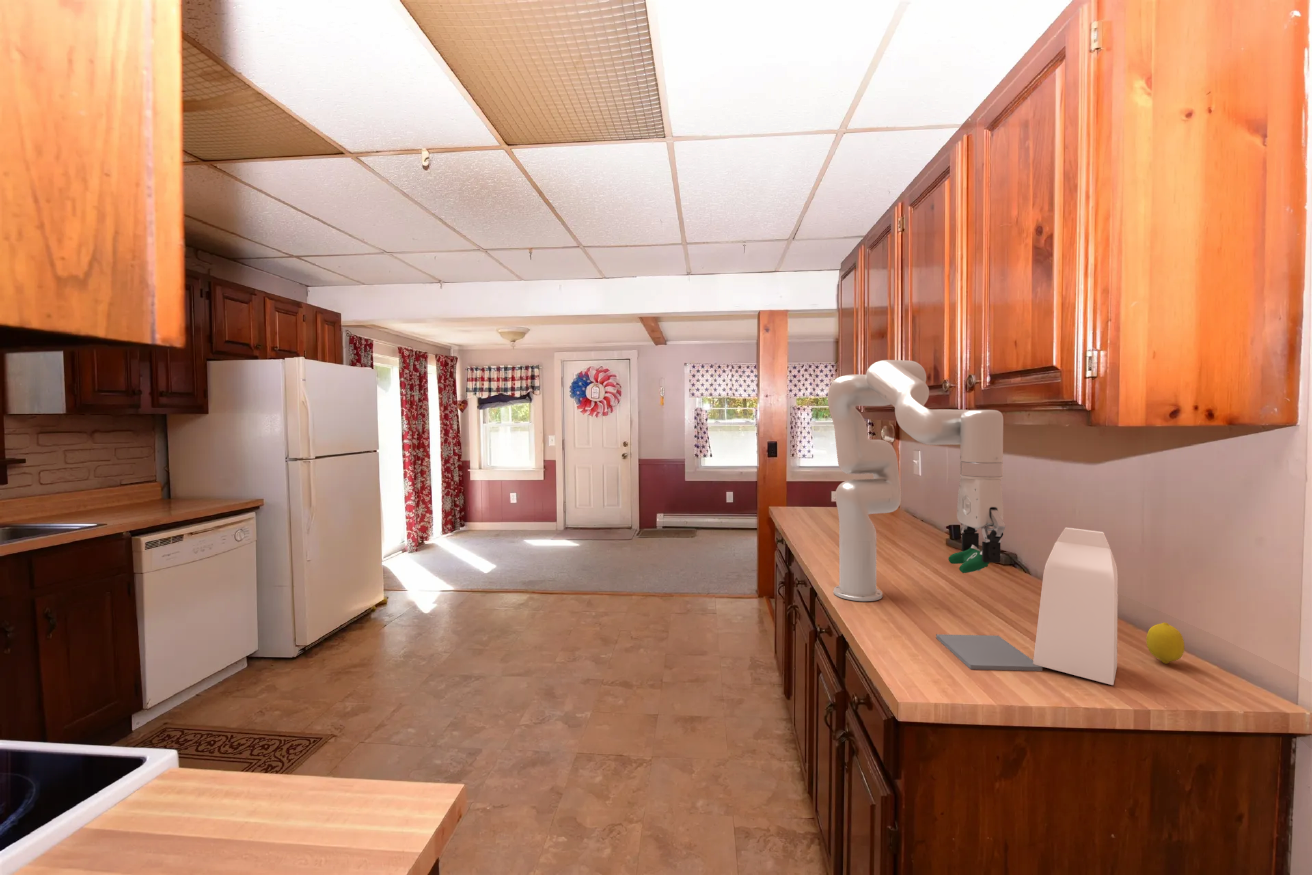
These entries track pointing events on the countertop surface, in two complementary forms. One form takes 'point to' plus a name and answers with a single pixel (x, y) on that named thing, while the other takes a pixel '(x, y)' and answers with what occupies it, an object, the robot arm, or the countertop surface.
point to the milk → (1079, 607)
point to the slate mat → (987, 652)
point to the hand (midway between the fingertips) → (980, 556)
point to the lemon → (1165, 642)
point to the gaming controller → (968, 560)
